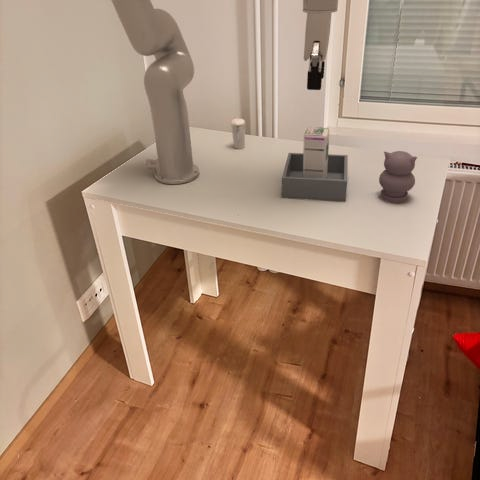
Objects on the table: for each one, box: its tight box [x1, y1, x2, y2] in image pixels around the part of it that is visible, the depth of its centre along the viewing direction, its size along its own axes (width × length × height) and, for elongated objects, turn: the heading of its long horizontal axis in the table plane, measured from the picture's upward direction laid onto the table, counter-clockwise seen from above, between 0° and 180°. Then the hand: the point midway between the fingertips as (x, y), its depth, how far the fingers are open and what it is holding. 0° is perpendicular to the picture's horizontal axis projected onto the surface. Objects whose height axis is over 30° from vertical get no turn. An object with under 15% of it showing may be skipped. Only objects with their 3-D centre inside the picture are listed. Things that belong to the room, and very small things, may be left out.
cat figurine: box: [378, 150, 418, 204], centre depth 115 cm, size 8×8×12 cm
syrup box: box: [302, 126, 330, 179], centre depth 121 cm, size 6×6×14 cm
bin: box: [281, 152, 349, 202], centre depth 123 cm, size 16×16×6 cm
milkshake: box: [230, 117, 247, 150], centre depth 146 cm, size 4×5×10 cm
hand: (315, 83), depth 111 cm, fingers open, 9 cm apart
